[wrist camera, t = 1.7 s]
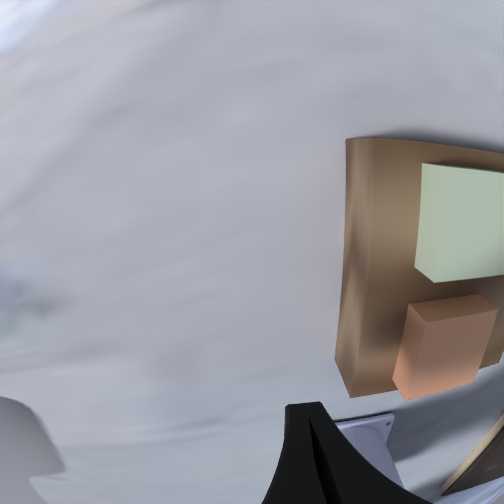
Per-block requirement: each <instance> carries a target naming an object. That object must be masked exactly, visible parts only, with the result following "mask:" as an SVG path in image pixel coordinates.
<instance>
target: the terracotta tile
mask: <svg viewBox="0 0 504 504" xmlns="http://www.w3.org/2000/svg"><path fill="white" fill-rule="evenodd" d="M497 312H498V309H497V308H496V307H495V306H493V305H492V304H491V303H489V302H488V301H487V300H485V299H484V298H483V297H481V296H480V295H479V294H476V295H469V296H463V297H456V298H449V299H442V300H434V301H426V302H418V303H410V304H408V310H407V315H406V321H405V326H404V331H403V336H402V340H401V345H400V349H399V354H398V358H397V362H396V366H395V370H394V374H393V378H392V380H393V381H394V383H395V385H396V387H397V388H398V390H399V392H400V394H401V395H402V397H403V399H404V401H407V400H411V399H415V398H420V397H424V396H428V395H432V394H435V393H439V392H443V391H446V390H450V389H453V388H457V387H460V386H463V385H467V384H470V383H473V382H474V379H475V377H476V374H477V372H478V369H479V366H480V364H481V361H482V358H483V356H484V353H485V350H486V347H487V344H488V341H489V338H490V335H491V332H492V329H493V325H494V322H495V319H496V315H497Z"/></svg>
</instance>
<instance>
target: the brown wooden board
mask: <svg viewBox="0 0 504 504" xmlns="http://www.w3.org/2000/svg"><path fill="white" fill-rule="evenodd" d="M422 163H427V164H439V165H449V166H459V167H468V168H477V169H485V170H492V171H498V172H503V173H504V154H502V153H497V152H491V151H486V150H480V149H474V148H467V147H461V146H454V145H446V144H439V143H430V142H421V141H412V140H401V139H389V138H376V137H371V138H353V139H346V213H345V241H344V260H343V276H342V290H341V303H340V314H339V325H338V334H337V344H336V352H335V361H336V364H337V366H338V369H339V371H340V373H341V376H342V378H343V381H344V383H345V386H346V389H347V391H348V394H349V396H350V398H354V397H360V396H366V395H372V394H378V393H383V392H389V391H394V390H398V388H397V387H396V385H395V383H394V381H393V380H392V378H393V374H394V370H395V366H396V362H397V358H398V354H399V349H400V345H401V340H402V336H403V331H404V326H405V321H406V315H407V310H408V304H410V303H418V302H426V301H434V300H442V299H449V298H456V297H463V296H469V295H476V294H479V295H480V296H481V297H483V298H484V299H485V300H487V301H488V302H489V303H491V304H492V305H493V306H495V307H496V308H497V309H498V312H497V315H496V319H495V322H494V325H493V329H492V332H491V335H490V338H489V341H488V344H487V347H486V350H485V353H484V356H483V358H482V361H481V364H480V366H479V369H481V368H484V367H487V366H490V365H493V364H496V363H499V361H500V358H501V356H502V353H503V350H504V275H496V276H488V277H480V278H472V279H463V280H454V281H445V282H436V283H434V282H433V281H432V280H430V279H429V278H428V277H427V276H425V275H424V274H423V273H421V272H420V271H419V270H418V269H416V268H415V267H414V265H415V257H416V248H417V239H418V228H419V216H420V201H421V180H422Z"/></svg>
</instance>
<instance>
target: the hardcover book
mask: <svg viewBox="0 0 504 504" xmlns="http://www.w3.org/2000/svg"><path fill="white" fill-rule="evenodd" d="M502 476H504V412H503V414H502V415H501V416H500V418H499V419H498V421H497V422H496V423H495V425H494V426H493V427H492V428H491V430H490V431H489V432H488V434H487V435H486V436H485V437H484V439H483V440H482V441H481V442H480V443H479V445H478V446H477V447H476V448H475V449H474V451H473V452H472V453H471V454H470V455H469V456H468V457H467V459H466V460H465V461H464V462H463V463H462V464H461V465H460V466H459V467H458V469H457V470H456V471H455V472H454V473H453V474H452V475H451V476H450V477H449V478H448V479H447V480H446V481H445V482H444V483H443V484H442V485H441V488H442V490H443V493H442V494H441V496H445V495H449V494H452V493H456V492H459V491H463V490H466V489H469V488H472V487H475V486H478V485H481V484H484V483H487V482H489V481H492V480H495V479H497V478H500V477H502Z"/></svg>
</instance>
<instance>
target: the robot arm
mask: <svg viewBox="0 0 504 504" xmlns="http://www.w3.org/2000/svg"><path fill="white" fill-rule="evenodd" d="M394 420H395V416H394V414H392V413H389V414H384V415H379V416H374V417H369V418H363V419H357V420H351V421H345V422H338V423H334V421H333V420H332V419H331V417H330V416H329V414H328V413H327V411H326V409H325V408H324V406H323V404H322V403H321V402H310V403H300V404H288V405H287V406H286V407H285V428H284V443H283V448H282V451H281V455H280V459H279V462H278V466H277V469H276V472H275V474H274V477H273V480H272V482H271V485H270V487H269V489H268V491H267V494H266V496H265V498H264V500H263V502H262V504H433V503H430V502H428V501H426V500H424V499H422V498H420V497H418V496H416V495H414V494H412V493H411V492H409V491H407V490H405V489H404V486H403V484H402V481H401V479H400V476H399V474H398V472H397V469H396V467H395V464H394V462H393V460H392V457H391V455H390V452H389V450H388V448H387V445H386V442H387V439H388V436H389V434H390V431H391V428H392V425H393V423H394Z"/></svg>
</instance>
